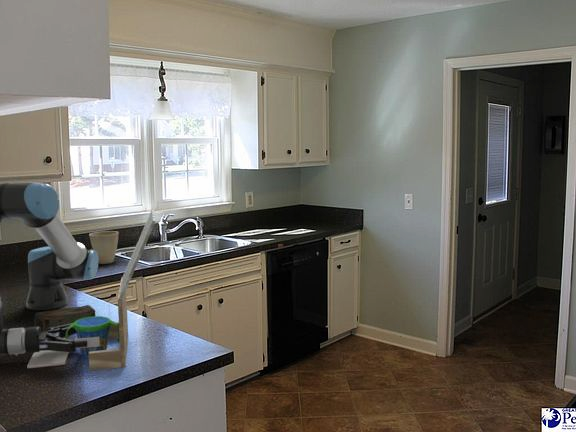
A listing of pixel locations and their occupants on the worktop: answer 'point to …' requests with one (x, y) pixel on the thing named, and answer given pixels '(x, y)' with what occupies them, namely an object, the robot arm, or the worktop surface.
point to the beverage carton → (62, 316)
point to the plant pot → (105, 245)
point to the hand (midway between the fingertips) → (101, 333)
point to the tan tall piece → (122, 310)
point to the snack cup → (93, 331)
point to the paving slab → (47, 358)
